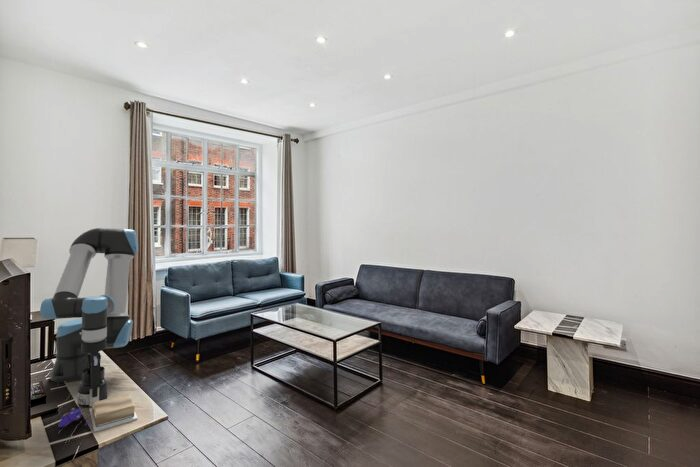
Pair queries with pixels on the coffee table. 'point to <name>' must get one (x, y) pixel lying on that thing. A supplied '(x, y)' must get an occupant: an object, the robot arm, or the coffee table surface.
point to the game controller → (70, 418)
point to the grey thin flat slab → (112, 423)
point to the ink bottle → (85, 392)
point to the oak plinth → (112, 409)
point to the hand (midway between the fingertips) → (92, 399)
